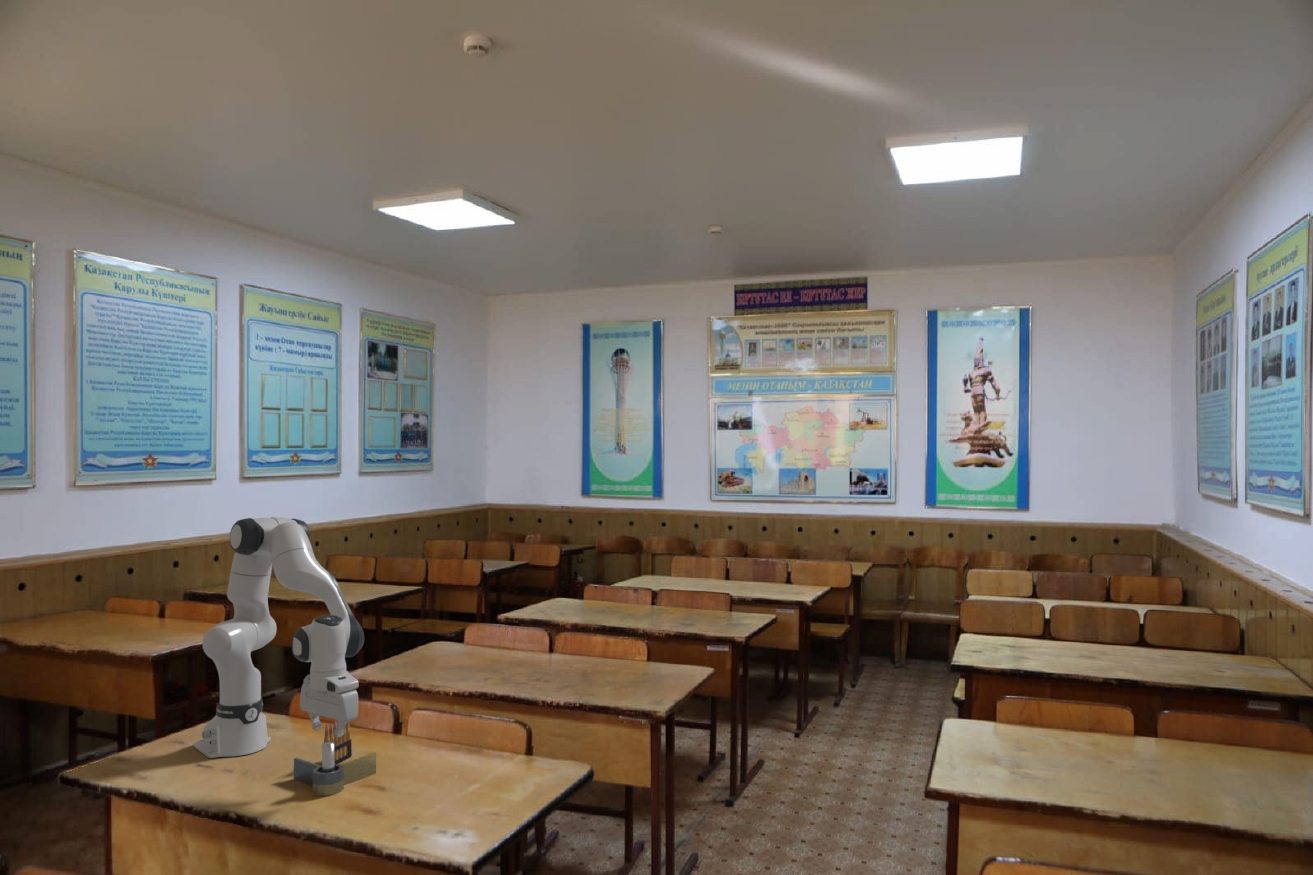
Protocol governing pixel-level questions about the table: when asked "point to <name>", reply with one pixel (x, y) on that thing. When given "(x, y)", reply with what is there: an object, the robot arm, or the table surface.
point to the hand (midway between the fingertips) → (327, 732)
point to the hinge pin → (328, 757)
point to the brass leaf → (349, 775)
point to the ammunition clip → (339, 742)
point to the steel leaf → (316, 773)
